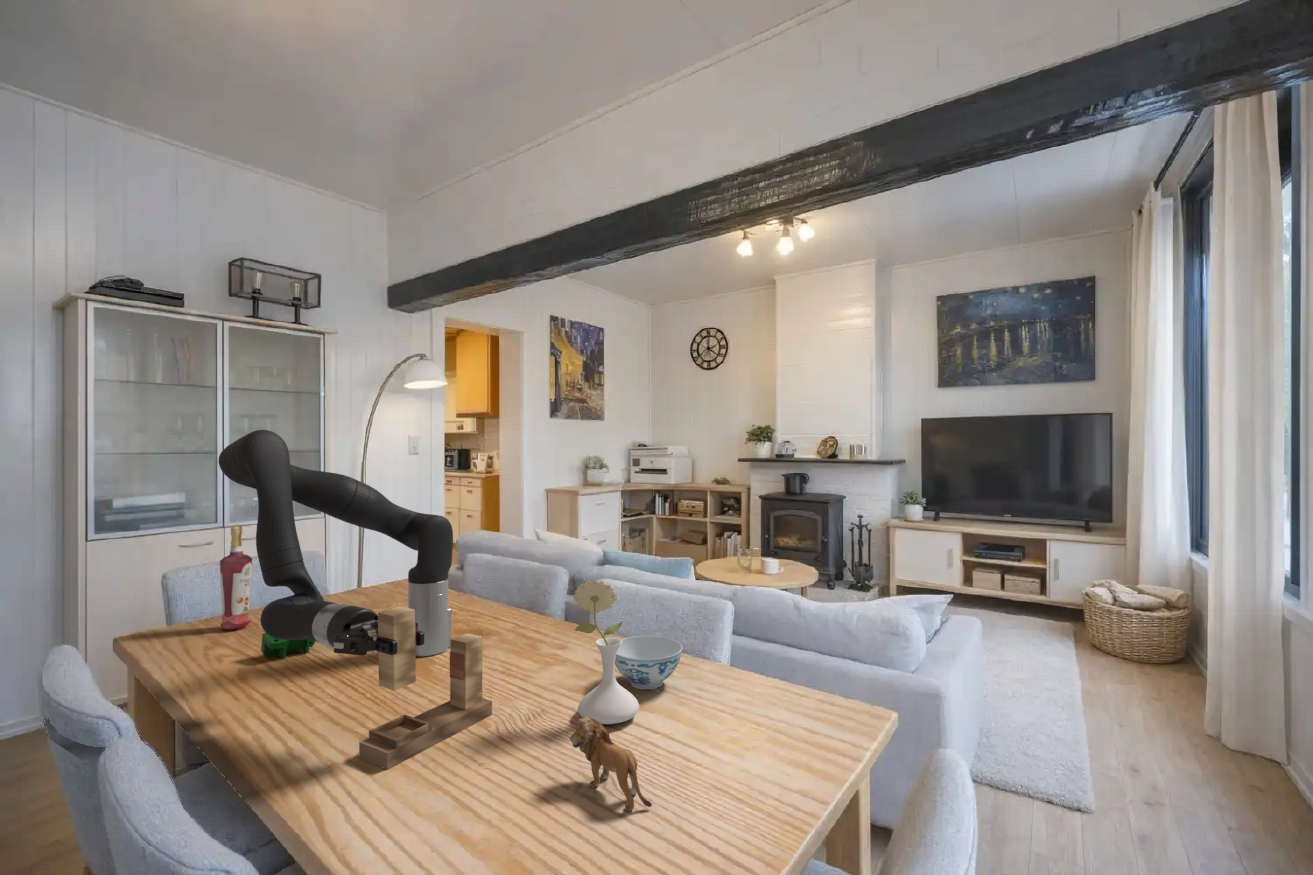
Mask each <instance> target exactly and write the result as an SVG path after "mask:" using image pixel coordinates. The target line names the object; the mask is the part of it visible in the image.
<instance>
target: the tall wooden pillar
mask: <svg viewBox="0 0 1313 875" xmlns="http://www.w3.org/2000/svg"><path fill="white" fill-rule="evenodd" d="M377 615H378V635H379V636H380V637H385V638H388V639H392V640H396V641H397V654H394V655H389V654H385V653H382V652H377V654H378V655H377V656H378V686H379V687H383V688H386V689H388V690H390V691H395V692H396V691H398V690H400V689H402V688H404V687H406V686H409V685H411V684H414V683H416V682H417V670H416V669H417V666H416V664H417V662H416V657H417V656H416V653H415V649H416V622H415V609H410V608H408V607H406V606H401V605H400V606H396V607H392V608H389V609H385V610H382V611H378V612H377Z"/></svg>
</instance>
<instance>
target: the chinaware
mask: <svg viewBox="0 0 1313 875" xmlns="http://www.w3.org/2000/svg"><path fill="white" fill-rule="evenodd" d="M620 640H622V644H621V645H620V646H619V648H618V651H617V654H616V659H615V668H617V670H618V671H619V673H620V674H621V675H622V676H623V677H624V678H625V679H626V680H628V681H629V682H630V684H631V687H633V688H634V687H635V689H638V690H642V689H651V690H656V689H658V687H659V688H661V687H662V686H663V684H664V683H663V682H664V681H665V680H666V679H668V678H669V677H670V676H671V675H673V673H674V672H675V671H676V669H677V668H678V665H679V662H680V660H681V658H682V652H683V645H682V644H681V642H679V641H677V640H675V639H674V638H673V639H672V638H669V637H667V636H666V637H664V636H658V635H639V636H638V635H637V636H636V635H635V636H629V637H625V638H622V639H620ZM661 685H662V686H661Z"/></svg>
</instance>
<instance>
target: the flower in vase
mask: <svg viewBox="0 0 1313 875" xmlns="http://www.w3.org/2000/svg"><path fill="white" fill-rule="evenodd" d="M572 597H573V599H574V602H575V603H576V604H577V606H578V607H579V608H580V609H582V610H584V611H588V610H589V611H588V612H590V613H593V623H594V624H592V623H590V622H587V621H586V622H581V623H579V624H578V625H577V626H576V628H574V631H576V632H582V633H585V634H591V633H593V632H594V631H595V630H597V632H598V633H599V635H600V637H602V638H598V639H597V640H595V642H594V643H595V645H596V646H597V648H598V650H599V653H600V655H601V661H602V662H601V663H602V675H601V676H602V677H601V680H600V682H599V683H598V685H596V687H595V688H593V689H592V690H590V691H589V692H588V693H587V694H586V695H585V696H583V698H582V699H581V700H580V701H579V704H578V707H577V712H578V714H579V715H580V716H581V718H584V717H590V718H592V719H594V720H596V721H598V722H599V723H600V724H602V725H614V724H620V723H623V722H627V721H629V720H631V719H632V718H635V716H636V715H637V713H638V712H639V711H640V704H639V701H638V699H637V698H636V697H635V696H634V695H633V693H631V692H630V691H628V690H627V689H626V688H624V686H622V685H620V684H619V683H618V681H617V678H616V672H615V671H616V670H615V668H616V665H615V659H616V654H617V651H618V648H619V646H620V645H621V644H622V640H621V639H620V638H619V637H605V636H608V635H612V634H614V633H615V632H617V631H619V629H620V628H621V627H622V624H623V621H621V622H619V623H616V624H612V625H610V626H608V627H607V628H606V630H605V631H604V633H602V631H601V630H600V628H599V626H598V625H597V620H596V616H597V613H601V612H605V611H607V610H609V609H612V608H613V605H614V604H615V601H617V599H618V598H617V594H616V593H615V590H614V588H613V587H612V585H611V584H605V583H604V580H598V581H597V580H596V579H593V580H592V581H590V580H586V581H585V583H580V584H579V585H578V586H577V587H576V589H575V591H574V594H573V595H572Z"/></svg>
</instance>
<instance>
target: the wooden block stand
mask: <svg viewBox="0 0 1313 875" xmlns="http://www.w3.org/2000/svg"><path fill="white" fill-rule="evenodd" d="M449 649H450V650H449V651H450V652H449V678H450V679H449V680H450V682H449V683H450V684H449V686H450V687H449V688H450V689H449V691H450V692H449V700H448V701H446V702H444V703H441V704H440V705H438V706H435V707H433V708H431V709H428V710H426V711H424V712H422V713H420V714H417V715H415V716H410V715H407V714H403V715H401V716H399V717H397V718H394V719H392V720H390V721H387V722H385V723H382V724H381V725H378V726H376V727H374V728H372V729H370V730H368V737H367V738H365V739H364V740H361V741H359V742H358V744H359V745H358V746H359V749H358V750H359V752H358V753H359V754H358V755H359V756H358V757H359V759H361V760H363V761H366V762H368V763H370V764H373V765H376V766H378V767H380V768H383V769H384V770H389V769H391V768H394V767H395V766H398V765H400V764H401V763H402V762H404V761H407V760H409V759H411V758H412V757H414V756H417V755H418V754H420V753H422V752H424V751H426V750H428V749H429V748H431V747H433V746H435V745H437V744H439V743H441V742H443V741H444V740H446V739H449V738H450V737H452V736H454V735H456V734H458V733H460V732H462V731H464V730H465V729H468V728H469V727H471V726H473V725H474V724H477V723H479V722H481V721H482V720H484V719H486V718H488V717H490V716H491V715H493V700H490V699H486V698H483V635H482V636H481V635H477V634H472V633H467V632H466V633H464V634H461V635H458V636H455V637H453V638H452V637H451V639H450V647H449Z"/></svg>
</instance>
